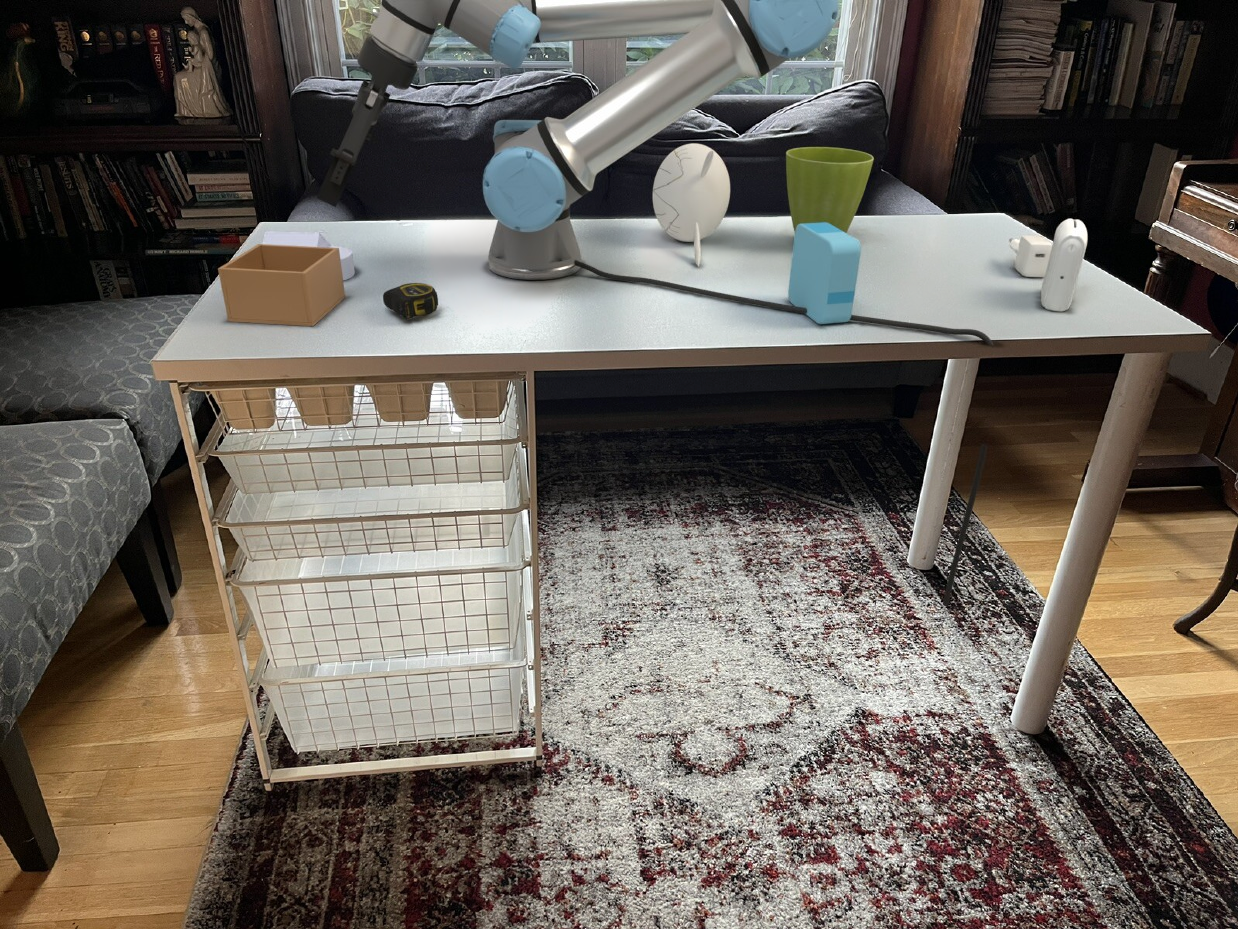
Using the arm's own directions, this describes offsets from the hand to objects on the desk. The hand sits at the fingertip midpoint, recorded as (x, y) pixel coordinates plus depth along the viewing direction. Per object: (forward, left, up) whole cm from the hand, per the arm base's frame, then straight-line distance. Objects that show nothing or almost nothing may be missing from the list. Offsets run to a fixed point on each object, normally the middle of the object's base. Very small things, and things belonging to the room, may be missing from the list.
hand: (332, 187), depth 132 cm
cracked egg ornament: (-51, -34, -16) cm, 63 cm away
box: (+5, +9, -15) cm, 19 cm away
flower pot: (-74, -38, -15) cm, 84 cm away
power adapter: (-108, -30, -15) cm, 113 cm away
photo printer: (-108, -13, -15) cm, 110 cm away
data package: (-71, -2, -16) cm, 73 cm away
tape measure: (-13, +9, -15) cm, 22 cm away
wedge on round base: (+8, -7, -16) cm, 19 cm away
